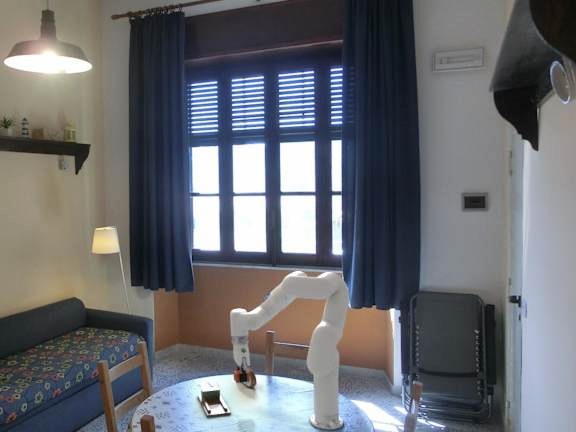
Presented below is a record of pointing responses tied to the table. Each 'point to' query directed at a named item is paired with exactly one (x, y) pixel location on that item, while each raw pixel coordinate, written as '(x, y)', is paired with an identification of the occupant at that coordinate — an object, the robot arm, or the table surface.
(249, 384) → the tin
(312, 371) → the robot arm
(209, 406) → the cradle
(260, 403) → the table surface
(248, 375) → the block
